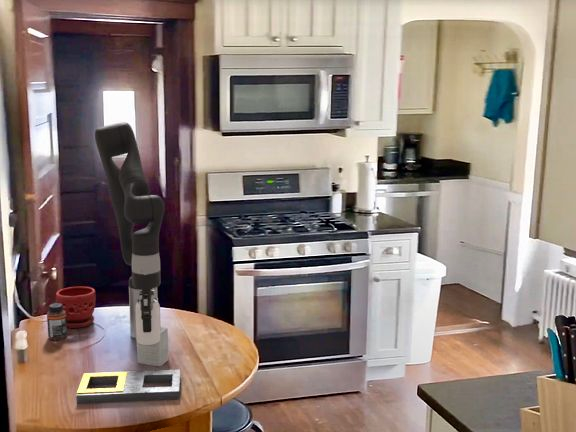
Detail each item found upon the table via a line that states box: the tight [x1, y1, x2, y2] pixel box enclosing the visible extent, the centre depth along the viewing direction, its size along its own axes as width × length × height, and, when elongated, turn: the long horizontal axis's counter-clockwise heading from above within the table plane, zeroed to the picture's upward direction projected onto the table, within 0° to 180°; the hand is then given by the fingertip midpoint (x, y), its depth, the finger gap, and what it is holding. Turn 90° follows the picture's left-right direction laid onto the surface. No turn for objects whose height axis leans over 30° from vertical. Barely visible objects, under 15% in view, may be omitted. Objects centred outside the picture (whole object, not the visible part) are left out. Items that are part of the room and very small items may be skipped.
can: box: [135, 297, 161, 346], centre depth 193 cm, size 6×6×12 cm
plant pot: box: [55, 286, 96, 329], centre depth 245 cm, size 13×13×12 cm
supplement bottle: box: [46, 302, 68, 341], centre depth 232 cm, size 6×6×11 cm
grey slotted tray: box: [75, 369, 181, 405], centre depth 196 cm, size 27×14×3 cm, turn 97°
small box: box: [135, 327, 170, 367], centre depth 214 cm, size 8×6×10 cm
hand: (147, 326), depth 193 cm, fingers closed on can, 6 cm apart
